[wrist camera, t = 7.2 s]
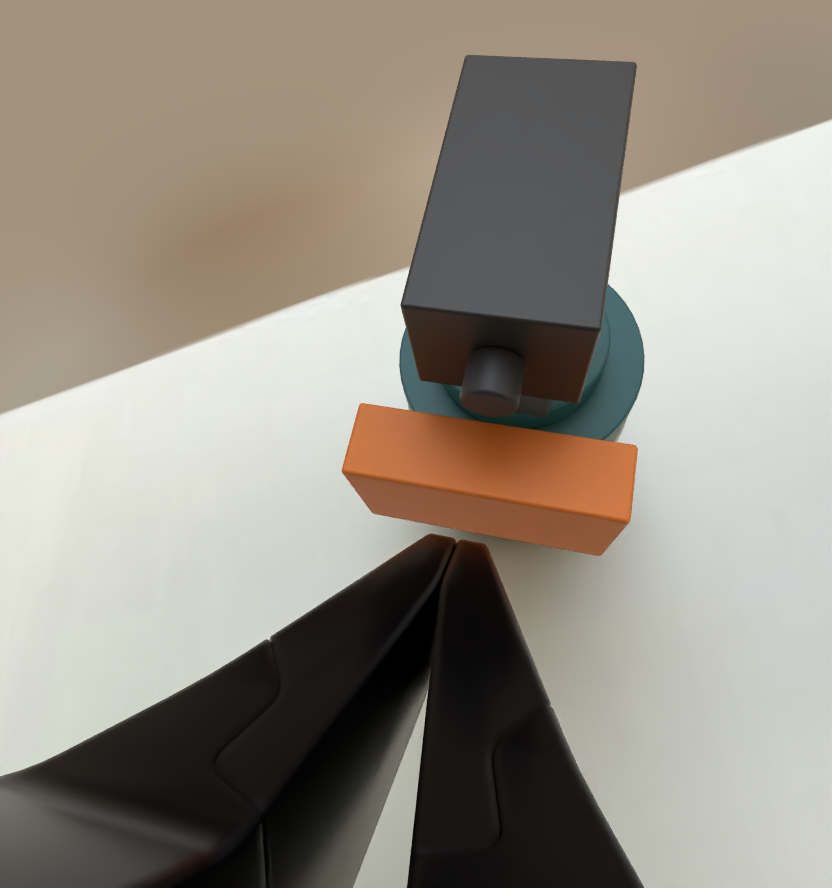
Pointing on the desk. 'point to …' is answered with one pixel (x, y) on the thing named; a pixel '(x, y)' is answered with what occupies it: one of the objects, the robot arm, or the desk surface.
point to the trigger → (492, 478)
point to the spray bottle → (525, 253)
